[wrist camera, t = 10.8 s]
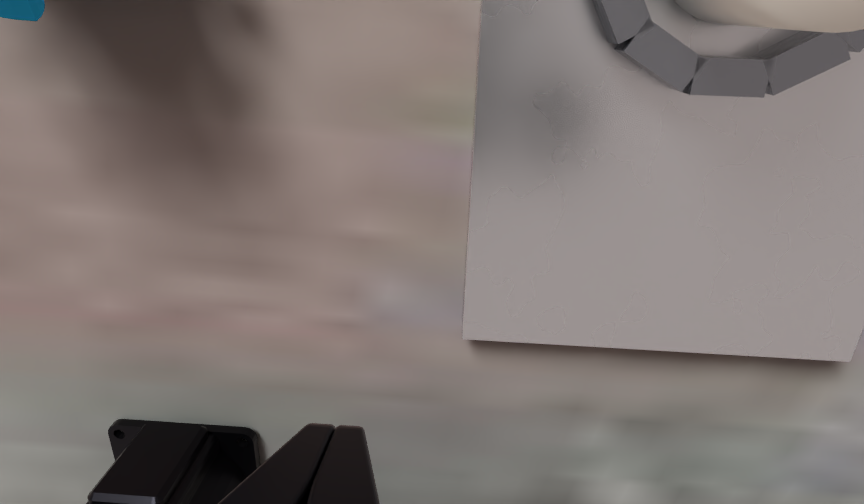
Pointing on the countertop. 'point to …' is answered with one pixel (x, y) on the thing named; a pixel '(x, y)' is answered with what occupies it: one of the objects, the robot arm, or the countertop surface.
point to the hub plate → (665, 182)
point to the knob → (781, 13)
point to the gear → (22, 9)
